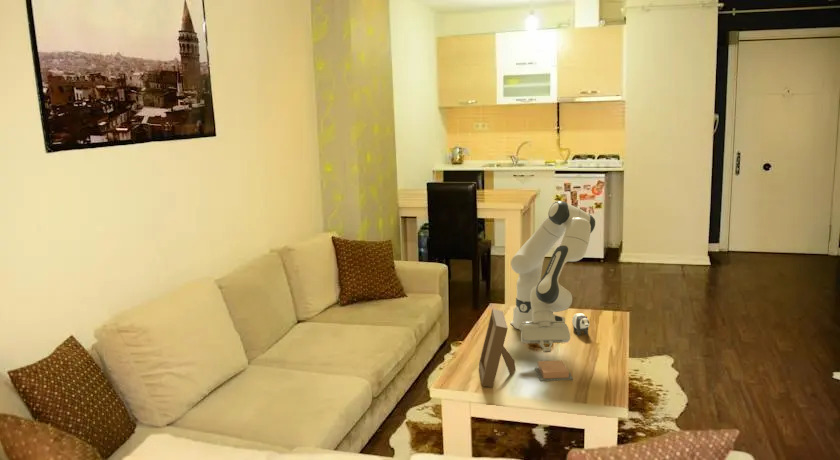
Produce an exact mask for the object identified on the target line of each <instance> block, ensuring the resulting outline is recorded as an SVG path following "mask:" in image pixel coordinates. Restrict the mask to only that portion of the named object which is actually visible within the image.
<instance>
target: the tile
mask: <svg viewBox="0 0 840 460" xmlns="http://www.w3.org/2000/svg"><path fill="white" fill-rule="evenodd" d="M566 367H567V366H566V364H565V363H564V361H563V360H561V359H559V360H538V361H537V368H539V370H540V372H541V374H542V376H543V379H544V378H569V373H570V371H569V369H568V368H566ZM567 369H568V370H567Z"/></svg>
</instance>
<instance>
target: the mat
mask: <svg viewBox="0 0 840 460" xmlns="http://www.w3.org/2000/svg"><path fill="white" fill-rule="evenodd" d="M566 368H567V366H566ZM567 370H568V371H569V369H568V368H567ZM534 371H535V373H536V375H537V377H538V379H539V381H540V382H546V381H547V382H548V381H549V382H550V381H551V382H553V381H570V380H571V381H572V380H574V378H573V376H572V374H571V373H570V372H569V378H544V379H543V376H542V374H541V372H540V370H539V368H538V367H536V368H534Z"/></svg>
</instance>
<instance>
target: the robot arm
mask: <svg viewBox="0 0 840 460" xmlns="http://www.w3.org/2000/svg"><path fill="white" fill-rule="evenodd" d="M595 228H596V219H595V218H594V216H592V215H591V214H590V213H587V212H586V211H585V210H583V209H582V208H579V207H577V206H574V205H572V204H569V203H568V202H565V201H562V200H556V201H555V202H553V203H552V204H551V206H550V208H549V210H548V215H547V216H546V217H545V218H544V220H543V221H542V222H541V223H540V225H538V227H537V229H536V230H535V231H534V232H533V234H532V235H531V236H530V237H529V238H528V239H527V240H526V241H525V242H524V243H523V245H521V247H520V248H519V249H518V250H517V252H516V253H515V254H514V255H513V257H512V258H511V260H510V267H511V269H512V271H513V272H515V273H516V274H518V278H517V281H516V298H515V307H514V308H513V314H512V315H513V316H512V320H511V321H510V325H512V326H513V327H514V329H517V330H519V331H520V333H521V334H520V340H521V343H522V344H539V347H540V348H541V349H542V350H543V353H552V346H553V343H554V344H556V343H557V344H559V343H560V344H561V343H562V344H563V343H569V341H570V340H571V333H570V329H569V326H568V324H567V323H566V319H565V317H563V316H560V315H557V314H554V313H558V312H563V311H566V310H568V309H569V308H570V307H571V306H572V303H573V295H572V294H573V293H571V292H570V291H569V290H568V289H566V288H565V287H563V286H562V285H561V284H560V283H559V278H560V276H561V273H562V271H563V269H564V266H565V264H566V263H567V262H578V261H580V260H582V259H583V258H584V257H585V255H586V254H587V250H588V247H589V243H590V238H591V234H592V233H593V231H594V230H595ZM562 236H563V237H562ZM561 238H562V240H561V242H560V244H559V246H558V247H556V249H555V250H554V251H553V253H552V256H551V257H550V260H549V262H548V264H547V266H546V269H545V271H544V274H543V276H542V271H543V265H544V260H545V258H546V255H547V254H549V252H551V250H552V249H554V248H553V247H555V245H556V243H558V241H559V240H560V239H561ZM544 344H548V346H545V345H544Z"/></svg>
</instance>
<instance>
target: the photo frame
mask: <svg viewBox="0 0 840 460" xmlns="http://www.w3.org/2000/svg"><path fill="white" fill-rule="evenodd" d="M489 317H490V318H489V320H488V321H489V322H488V326H487V330H486V333H485V338H484V342H483V347H482V349H481V354H480V358H479V361H478V362H479V364H478V367H479V374H480V375H479V376H480V381H481V386H484V387H488V388H494V385H495V380H496V376H497V372H498V368H499V364H500V361H501V356H502V358H503V361H504V363H505V365H506V368H507V370H508V373H509V375H512V374H513V373H514V372H516V362H515V359H514V358H513V356H512V355H511V354H510V352H509V351H508V350H507V348H506V347H505V345H504V344H505V341H506V337H507V333H508V325H507V320H506V318H505V314H504V311H503V310H500V309H499V310H498V309H495V308H492V309H491V313H490V316H489Z"/></svg>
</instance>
